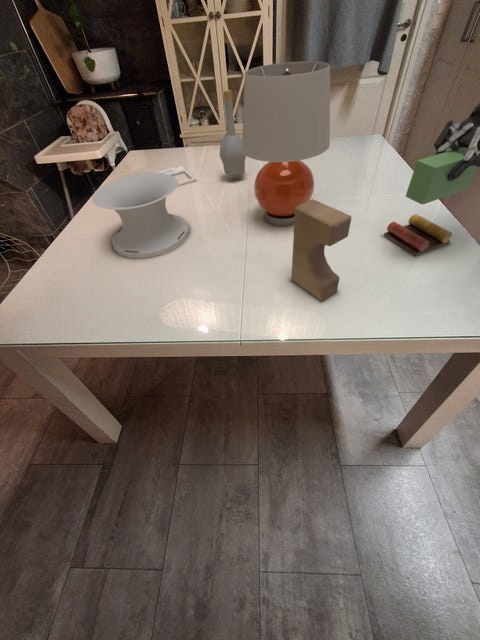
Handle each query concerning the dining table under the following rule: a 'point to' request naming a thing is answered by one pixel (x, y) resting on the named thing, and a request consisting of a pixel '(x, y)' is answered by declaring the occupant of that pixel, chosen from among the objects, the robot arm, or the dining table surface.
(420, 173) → the bar
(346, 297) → the dining table surface
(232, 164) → the bottle
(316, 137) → the lamp
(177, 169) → the photo frame
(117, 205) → the vase
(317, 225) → the decorative block
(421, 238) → the rod rack
